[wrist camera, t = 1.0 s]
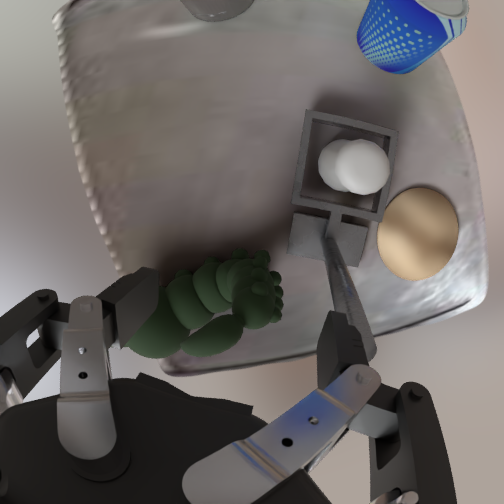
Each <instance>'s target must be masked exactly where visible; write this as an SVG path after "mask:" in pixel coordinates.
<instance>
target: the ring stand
mask: <svg viewBox="0 0 504 504" xmlns="http://www.w3.org/2000/svg"><path fill="white" fill-rule="evenodd" d="M312 122H317V123H322V124H327V125H332V126H337V127H341V128H346V129H350V130H354V131H358V132H362V133H366V134H370V135H374V136H378V137H381V138H384V144H383V150H384V152H385V154H386V156H387V158H388V160H389V166H390V174H389V177H388V179H387V181H386V184H385V185H384V186H383V187H382V188H380V189H379V190H378V191H377V192H375V195H374V200H373V205H372V209H371V210H369V209H365V208H361V207H356V206H352V205H347V204H343V203H338V202H333V201H329V200H324V199H319V198H314V197H309V196H303V195H300V192H301V187H302V181H303V175H304V169H305V163H306V157H307V150H308V144H309V138H310V131H311V124H312ZM397 140H398V131H395V130H392V129H388V128H385V127H381V126H378V125H374V124H371V123H367V122H363V121H359V120H355V119H351V118H346V117H342V116H338V115H333V114H328V113H323V112H318V111H313V110H307V109H306V111H305V118H304V125H303V131H302V138H301V144H300V151H299V157H298V163H297V169H296V175H295V181H294V187H293V193H292V199H291V204H296V205H302V206H307V207H312V208H317V209H322V210H327V211H330V214H329V218H325V217H320V216H315V215H310V214H305V213H299V212H294V216H293V221H292V227H291V232H290V238H289V243H288V248H287V254H291V255H296V256H302V257H307V258H312V259H317V260H322V261H325V265H326V270H327V275H328V279H329V284H330V289H331V294H332V299H333V304H334V309H335V311H336V312H341V313H346V316H347V320H348V324H349V325H352V326H355V327H356V328H357V330H358V331H359V332H360V333H361V337H362V342H363V344H364V348H365V352H366V356H367V360H368V362H369V361H371V359H373V358H374V356H375V354H376V351H377V347H376V344H375V341H374V338H373V335H372V332H371V329H370V326H369V323H368V321H367V318H366V315H365V312H364V310H363V307H362V304H361V302H360V299H359V296H358V294H357V291H356V289H355V286H354V283H353V281H352V278H351V276H350V273H349V271H348V269H347V266H346V265H348V266H353V267H358V266H359V262H360V258H361V254H362V251H363V247H364V243H365V239H366V235H367V231H368V228H367V227H366V226H363V225H358V224H353V223H349V222H344V221H341V217H342V214H346V215H351V216H355V217H360V218H364V219H369V220H373V221H377V222H382V220H383V216H384V211H385V207H386V202H387V197H388V193H389V188H390V182H391V177H392V171H393V166H394V160H395V153H396V147H397Z"/></svg>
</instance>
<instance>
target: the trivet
mask: <svg viewBox="0 0 504 504" xmlns="http://www.w3.org/2000/svg"><path fill="white" fill-rule="evenodd" d="M457 240H458V222H457V217H456V214H455V211H454V209H453V207H452V206H451V204H450V203H449V201H448V200H447V199H446V198H445V197H444V196H442V195H441V194H440V193H438V192H436V191H434V190H431V189H427V188H413V189H409V190H406V191H404V192H402V193H400V194H399V195H397V196H396V197H395V198H394V199H393V200H392V201H391V202H390V203H389V204H388V205H387V207H386V208H385V211H384V216H383V220H382V222H379V224H378V230H377V245H378V250H379V253H380V256H381V258H382V260H383V262H384V263H385V265H386V266H387V267H388V268H389V270H390V271H391V272H393V273H394V274H395V275H397V276H398V277H400V278H403V279H406V280H412V281H414V280H423V279H426V278H429V277H431V276H433V275H435V274H436V273H438V272H439V271H440V270H441V269H442V268H443V267H444V266H445V265H446V264H447V263H448V261H449V260H450V258H451V257H452V255H453V253H454V250H455V247H456V244H457Z"/></svg>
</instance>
